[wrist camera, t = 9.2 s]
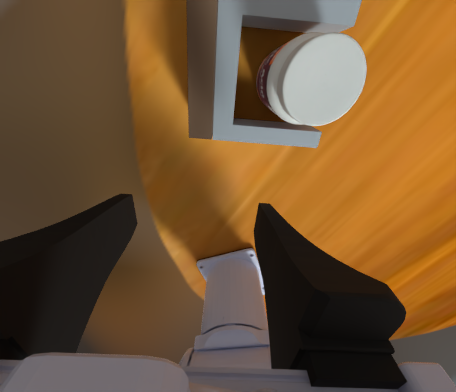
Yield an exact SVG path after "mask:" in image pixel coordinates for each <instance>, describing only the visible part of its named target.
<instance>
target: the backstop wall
mask: <svg viewBox="0 0 456 392" xmlns="http://www.w3.org/2000/svg"><path fill="white" fill-rule="evenodd" d="M217 23H218V0H187V53H188V113H189V138H200V139H212V135H213V120H214V96H215V72H216V48H217Z"/></svg>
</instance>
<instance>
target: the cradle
mask: <svg viewBox="0 0 456 392" xmlns="http://www.w3.org/2000/svg"><path fill="white" fill-rule="evenodd" d="M361 1H362V0H218V23H217V48H216V72H215V96H214V120H213V140H224V141H237V142H249V143H262V144H275V145H287V146H300V147H313V148H317V146H318V143H319V140H320V137H321V133H322V132H321V131H319V130H317V129H315V128H314V127H312V126H308V125H305V124H303V125H298V124H292V123H287V122H275V121H263V120H251V119H239V118H233V117H234V106H235V95H236V83H237V72H238V60H239V49H240V37H241V26H243V27H253V28H263V29H273V30H283V31H292V32H302V33H310V32H320V33H331V32H337V33H338V32H341V31H343V30H346V29H348V28H350V27H353V26H354V24H355V21H356V18H357V14H358V11H359V8H360V4H361Z"/></svg>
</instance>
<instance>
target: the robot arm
mask: <svg viewBox="0 0 456 392" xmlns="http://www.w3.org/2000/svg"><path fill="white" fill-rule="evenodd" d="M136 226H137V219H136V213H135V208H134V202H133V197H132V195H131V194H119V195H117V196H114V197H112V198H110V199H108V200H106V201H104V202H102V203H100V204H98V205H96V206H94V207H92V208H90V209H88V210H86V211H83V212H81V213H79V214H77V215H75V216H72V217H70V218H68V219H66V220H63V221H61V222H58V223H56V224H53V225H51V226H48V227H45V228H43V229H40V230H37V231H34V232H31V233H27V234H24V235H21V236H18V237H15V238H12V239H8V240H4V241H1V242H0V392H456V386H455V384H454V383H453V382H452V380H451V379H450V377H449V376H448V375H447V374H446V372H445V371H444V369H443V368H442V367H441V366H440V364H437V363H424V362H404V363H401V364H398V365H397V363H396V362H395V360H394V359H393V357H392V355H391V354H393V353H394V352H395V351H394V348H393V346H392V345H391V343H390V341H389V340H388V339H389V338H390V337H391V336H392V335H393V334H394V333H395V331H396V330H397V329H398V328H399V327H400V326H401V325H402V323H403V322H404V320H405V316H406V310H405V308H404V306H403V305H402V303H401V302H400V301H399V299H398V298H397V297H396V296H395V294H394V293H393V292H392V290H391V289H390V288H389V287H388V285H387V284H385V283H383V282H380V281H378V280H376V279H374V278H372V277H370V276H367V275H365V274H363V273H361V272H359V271H357V270H355V269H353V268H351V267H349V266H347V265H346V264H344V263H342V262H340V261H338V260H337V259H335V258H333V257H332V256H330V255H329V254H327V253H325V252H324V251H322V250H321V249H319V248H318V247H316V246H315V245H314V244H312V243H311V242H310V241H308V240H307V239H306V238H304V237H303V236H302V235H301V234H300V233H299V232H297V231H296V230H295V229H294V228H293V227H292V226H291V225H290V224H289V223H288V222H287V221H286V220H285V219H284V218H283V217H282V216H281V215H280V214H279V213H278V212H277V211H276V210H275V209H274V208H273V207H272V206H271V205H270V204H266V203H259V205H258V211H257V216H256V222H255V227H254V239H255V248H256V252H257V257H258V259H257V257H256V254H255V251H254V249H252V248H248V249H244V250H240V251H236V252H232V253H228V254H224V255H219V256H215V257H211V258H207V259H203V260H199V261H197V264H196V265H197V267H198V268H199V270H200V272H201V273H202V275H203V277H204V279H205V280H206V290H205V300H204V309H203V319H202V328H201V329H202V330H201V335H200V336H196V338H195V345H194V348H189V349H188V350H187V351H186V353H185V355H184V356H183V358H182V359H181V361H180V363H179V365H178V364H176V363H174V362H172V361H170V360H167V359H164V358H157V357H151V356H138V355H111V354H109V355H108V354H83V353H81V354H80V353H76V351H77V348H78V345H79V342H80V340H81V337H82V335H83V332H84V330H85V327H86V325H87V322H88V320H89V318H90V315H91V313H92V311H93V308H94V306H95V304H96V301H97V299H98V297H99V295H100V293H101V291H102V288H103V286H104V284H105V282H106V280H107V278H108V276H109V274H110V273H111V271H112V269H113V268H114V266H115V264H116V263H117V261H118V259H119V258H120V256H121V254H122V253H123V251H124V250H125V248H126V246H127V244H128V243H129V241H130V240H131V238H132V235H133V233H134V231H135V228H136ZM250 254H252V255H250ZM258 261H259V262H258ZM263 295H265V301H266V310H267V318H266V312H265V305H264V299H263ZM267 320H268V324H267Z"/></svg>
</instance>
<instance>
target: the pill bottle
mask: <svg viewBox="0 0 456 392" xmlns="http://www.w3.org/2000/svg"><path fill="white" fill-rule="evenodd" d="M366 70H367V66H366V59H365V55H364V52H363V50H362V48H361V47H360V45H359V44H358V43H357V42H356V41H355V40H354V39H353V38H352V37H350V36H348V35H346V34H343V33H337V32H331V33H320V32H310V33H306V34H302V35H300V36H298V37H296V38H294V39H292V40H291V41H289V42H287V43H285V44H284V45H282V46H280V47H279V48H277V49H275V50H274V51H272V52H271V53H270V54H269V55H268V56H267V57H266V58H265V59H264V60H263V62H262V64H261V65H260V68H259V70H258V73H257V78H256V89H257V93H258V96H259V98H260V100H261V101H262V103H263V104H264V105H265V106H266V107H267V108H269V109H270V110H271V111H272V112H274V113H275V114H276V115H278V116H279V117H280V118H281V119H283V120H284V121H286V122H289V123H292V124H298V125H303V124H305V125H308V126H320V125H325V124H328V123H331V122H333V121H335V120H337V119H338V118H340V117H341V116H343V115H344V114H345V113H346V112H347V111H348V110H349V109H350V108H351V107H352V106H353V105H354V103H355V102H356V100H357V99H358V97H359V95H360V93H361V91H362V89H363V86H364V83H365V78H366Z"/></svg>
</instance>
